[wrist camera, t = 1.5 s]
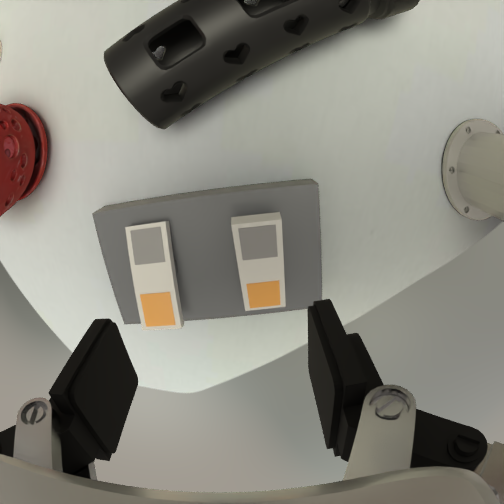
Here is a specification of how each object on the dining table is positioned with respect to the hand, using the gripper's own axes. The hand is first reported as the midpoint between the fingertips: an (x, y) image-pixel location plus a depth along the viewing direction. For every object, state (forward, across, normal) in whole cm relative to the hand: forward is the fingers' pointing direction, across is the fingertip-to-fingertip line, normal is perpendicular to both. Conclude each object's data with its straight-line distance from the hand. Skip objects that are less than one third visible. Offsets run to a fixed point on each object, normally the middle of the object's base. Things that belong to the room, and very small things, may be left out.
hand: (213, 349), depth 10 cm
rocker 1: (+17, +8, +5) cm, 20 cm away
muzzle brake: (+23, -6, -18) cm, 30 cm away
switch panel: (+23, +3, +5) cm, 23 cm away
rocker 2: (+17, -2, +5) cm, 18 cm away
